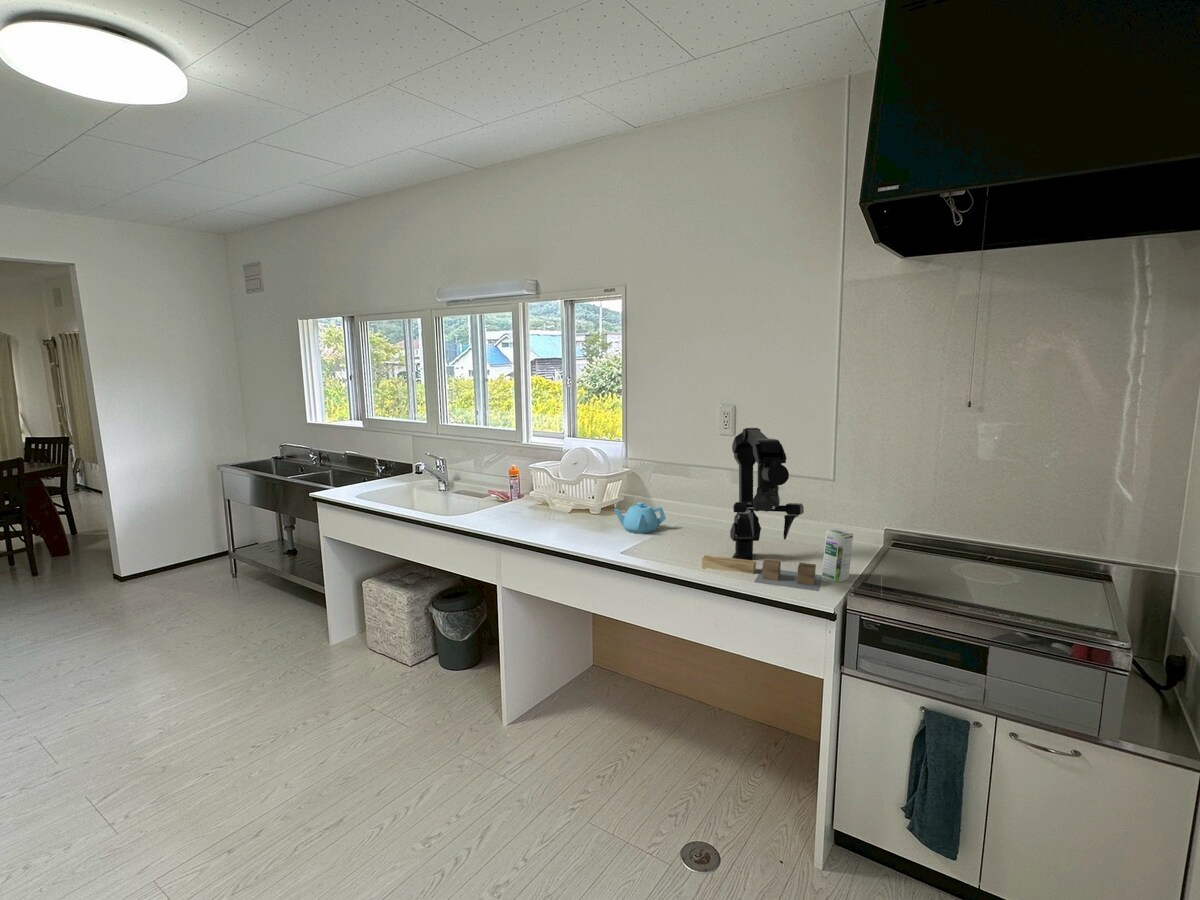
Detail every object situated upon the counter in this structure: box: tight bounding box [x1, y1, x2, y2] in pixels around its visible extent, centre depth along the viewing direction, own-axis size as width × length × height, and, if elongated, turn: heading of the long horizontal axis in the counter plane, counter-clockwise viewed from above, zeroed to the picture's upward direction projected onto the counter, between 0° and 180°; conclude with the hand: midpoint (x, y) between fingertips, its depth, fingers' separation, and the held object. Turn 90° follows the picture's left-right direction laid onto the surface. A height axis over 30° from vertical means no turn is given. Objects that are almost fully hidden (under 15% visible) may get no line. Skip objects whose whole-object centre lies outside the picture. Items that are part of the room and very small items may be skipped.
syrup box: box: [821, 528, 854, 583], centre depth 182 cm, size 6×6×14 cm
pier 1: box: [762, 558, 782, 581], centre depth 183 cm, size 4×4×5 cm
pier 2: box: [797, 562, 817, 586], centre depth 179 cm, size 4×4×5 cm
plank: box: [701, 554, 757, 575], centre depth 192 cm, size 4×16×4 cm, turn 68°
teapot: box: [613, 501, 667, 534], centre depth 238 cm, size 15×15×11 cm
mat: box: [754, 567, 823, 592], centre depth 183 cm, size 14×18×1 cm
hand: (768, 538), depth 175 cm, fingers open, 9 cm apart
